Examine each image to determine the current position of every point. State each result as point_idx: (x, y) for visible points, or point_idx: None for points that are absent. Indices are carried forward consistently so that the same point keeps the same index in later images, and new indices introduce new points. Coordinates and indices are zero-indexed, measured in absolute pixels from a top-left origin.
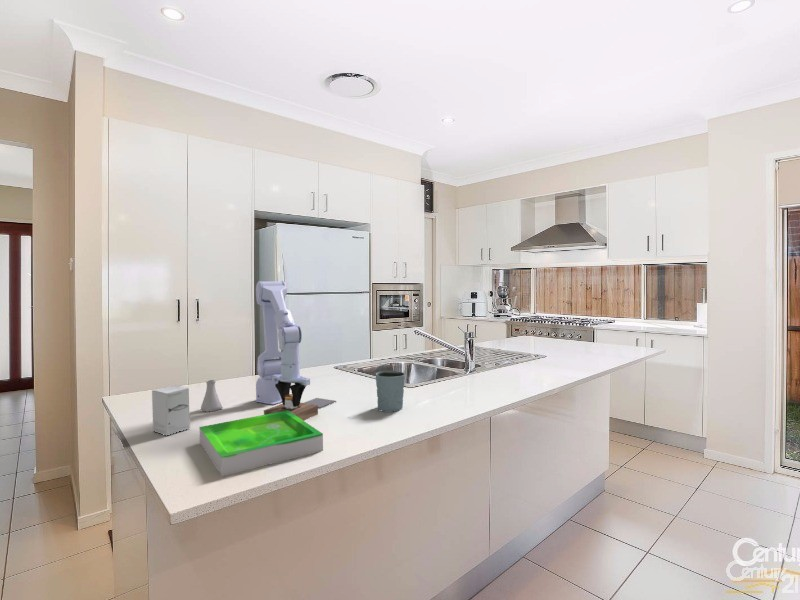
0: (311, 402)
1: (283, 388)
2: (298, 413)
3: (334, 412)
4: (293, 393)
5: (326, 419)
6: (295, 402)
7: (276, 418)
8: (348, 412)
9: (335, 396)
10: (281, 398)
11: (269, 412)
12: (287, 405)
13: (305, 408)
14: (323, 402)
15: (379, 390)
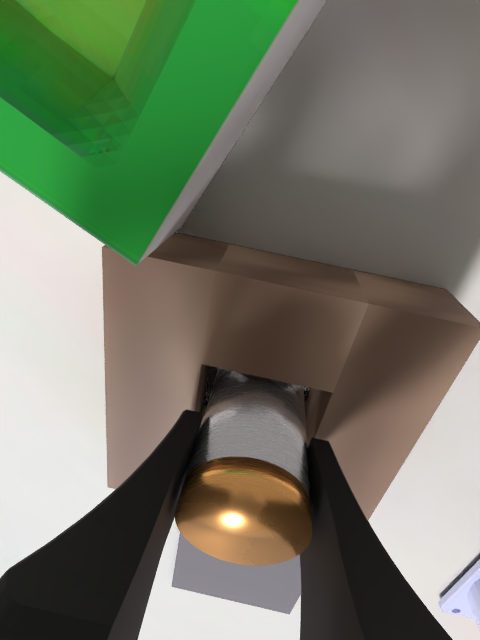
0: (275, 567)
1: (338, 631)
2: (105, 319)
3: (74, 472)
4: (128, 517)
5: (26, 376)
6: (166, 436)
7: (147, 36)
8: (14, 478)
9: (222, 627)
10: (348, 489)
11: (403, 305)
12: (254, 410)
13: (136, 425)
14: (214, 569)
15: None
